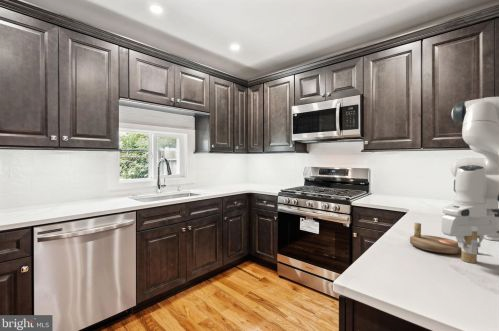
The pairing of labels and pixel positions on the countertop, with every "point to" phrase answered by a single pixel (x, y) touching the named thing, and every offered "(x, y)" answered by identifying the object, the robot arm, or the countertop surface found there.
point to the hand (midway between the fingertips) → (469, 247)
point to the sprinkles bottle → (470, 247)
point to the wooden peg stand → (433, 242)
